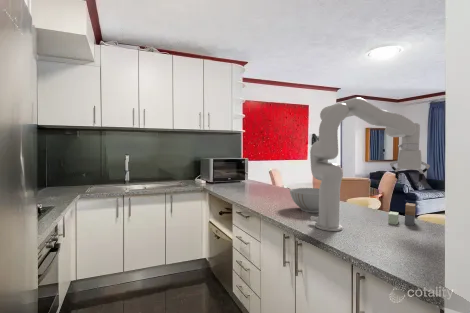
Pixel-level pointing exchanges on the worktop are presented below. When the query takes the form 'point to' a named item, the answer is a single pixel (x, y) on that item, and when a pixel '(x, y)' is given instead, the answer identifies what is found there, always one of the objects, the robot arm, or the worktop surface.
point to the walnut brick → (410, 209)
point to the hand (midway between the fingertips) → (408, 180)
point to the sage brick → (393, 217)
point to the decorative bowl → (306, 198)
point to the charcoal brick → (409, 219)
